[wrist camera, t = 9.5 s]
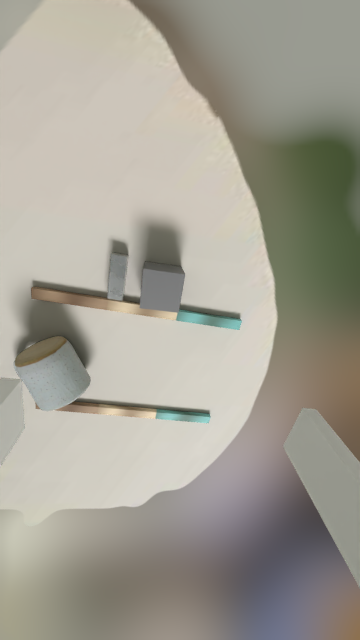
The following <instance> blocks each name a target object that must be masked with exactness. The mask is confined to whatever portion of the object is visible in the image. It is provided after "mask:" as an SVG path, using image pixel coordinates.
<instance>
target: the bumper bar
mask: <svg viewBox="0 0 360 640" xmlns="http://www.w3.org/2000/svg"><path fill="white" fill-rule="evenodd" d="M127 264H128V255H125V254H120V253H114V252H113V253H112V254H111V262H110V274H109V285H108V296H107V298H108V299H115V300H121V301H122V300H123V298H124V290H125V281H126V272H127Z"/></svg>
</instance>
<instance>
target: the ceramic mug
mask: <svg viewBox="0 0 360 640" xmlns="http://www.w3.org/2000/svg"><path fill="white" fill-rule="evenodd" d="M14 368H15V371H16V373H17V374H18V376H19V377H20V378H21V380H22V381H23V382H24V383H25V385H26V387H27V388H28V390H29V392H30V394H31V395H32V397H33V399H34V400H35V402H36V404H37V405H38V407H39V408H40V409H41V410H43V411H52V410H56V409H59V408H62V407H64V406H66V405H68V404H70V403H72V402H73V401H75V400H76V399H77V398H78V397H80V396H81V395H82V394H83V393H84V392H85V391H86V389H87V388H88V386H89V385H90V376H89V374H88V373H87V371H86V369H85V368H84V366H83V364H82V362H81V361H80V359H79V357H78V356H77V354H76V352H75V350H74V348H73V347H72V345H71V344H70V343H69V341H68V340H67V339H66V338H64V337H60V336H56V337H51V338H48V339H45V340H43V341H40V342H38V343H36V344H34V345H32V346H30V347H28V348H27V349H25V350H24V351H22V352H21V353H20V354H19V355H18V356H17V357H16V360H15V361H14Z"/></svg>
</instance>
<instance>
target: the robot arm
mask: <svg viewBox="0 0 360 640" xmlns="http://www.w3.org/2000/svg"><path fill="white" fill-rule="evenodd" d="M24 428H25V424H24V409H23V393H22V380H20V379H10V378H1V379H0V467H1V465H2V464H3V462H4V460H5V459H6V457H7V456H8V454H9V452H10V451H11V449H12V448H13V446H14V444H15V443H16V441H17V440H18V438H19V436H20V435H21V433H22V432H23V430H24ZM283 448H284V449H285V451H286V453H287V455H288V457H289V459H290V460H291V462H292V464H293V466H294V468H295V470H296V472H297V473H298V475H299V477H300V479H301V481H302V483H303V484H304V486H305V488H306V490H307V492H308V494H309V495H310V497H311V499H312V501H313V503H314V505H315V506H316V508H317V510H318V512H319V514H320V515H321V517H322V519H323V521H324V523H325V525H326V527H327V529H328V530H329V532H330V534H331V536H332V538H333V539H334V541H335V543H336V545H337V547H338V549H339V550H340V552H341V554H342V556H343V558H344V560H345V562H346V563H347V565H348V567H349V569H350V571H351V573H352V574H353V576H354V578H355V580H356V582H357V584H358V585H359V587H360V462H359V461H358V460H357V459H356V458H355V456H354V455H353V454H352V453H351V451H350V450H349V449H348V448H347V447H346V445H345V444H344V443H343V442H342V440H341V439H340V438H339V437H338V436H337V434H336V433H335V432H334V431H333V429H332V428H331V427H330V426H329V425H328V423H327V422H326V421H325V420H324V419H323V417H322V416H321V415H320V414H319V412H318V411H317V410H316V409H308V408H302V410H301V412H300V414H299V416H298V418H297V420H296V422H295V424H294V426H293V428H292V430H291V432H290V434H289V436H288V438H287V440H286V442H285V444H284V445H283Z"/></svg>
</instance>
